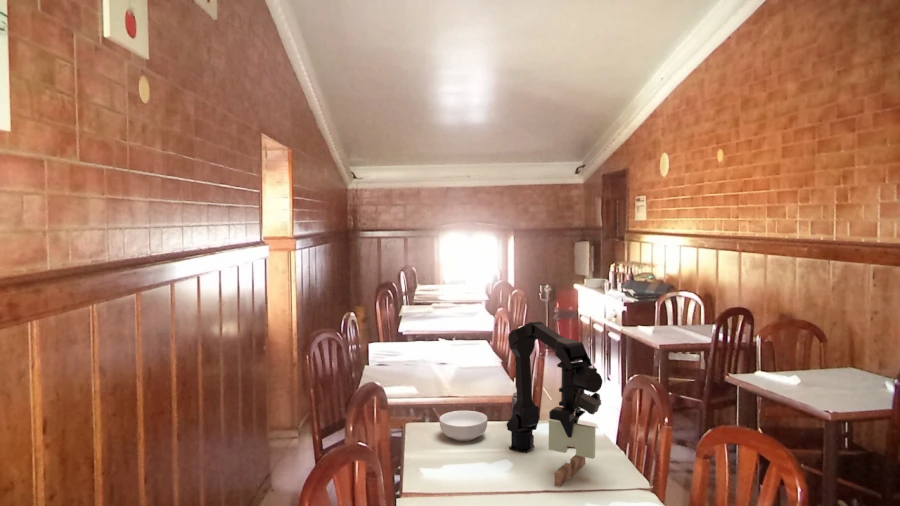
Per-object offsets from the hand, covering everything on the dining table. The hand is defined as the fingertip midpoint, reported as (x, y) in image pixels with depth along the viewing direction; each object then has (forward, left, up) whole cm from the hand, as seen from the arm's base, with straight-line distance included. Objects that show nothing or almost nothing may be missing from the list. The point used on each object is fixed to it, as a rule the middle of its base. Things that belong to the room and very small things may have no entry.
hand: (570, 436), depth 194 cm
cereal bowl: (-44, +11, -12) cm, 47 cm away
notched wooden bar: (0, 0, -12) cm, 12 cm away
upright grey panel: (0, 0, -5) cm, 5 cm away
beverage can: (-32, +32, -12) cm, 47 cm away
